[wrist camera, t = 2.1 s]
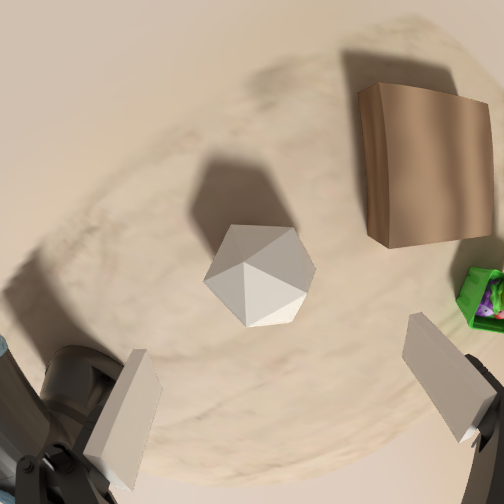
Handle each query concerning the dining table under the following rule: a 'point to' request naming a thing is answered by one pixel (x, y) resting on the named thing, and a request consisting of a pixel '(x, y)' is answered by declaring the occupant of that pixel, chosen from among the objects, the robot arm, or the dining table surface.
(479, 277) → the fruit basket
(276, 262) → the die
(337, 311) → the dining table surface
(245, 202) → the dining table surface
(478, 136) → the walnut block
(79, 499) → the robot arm
